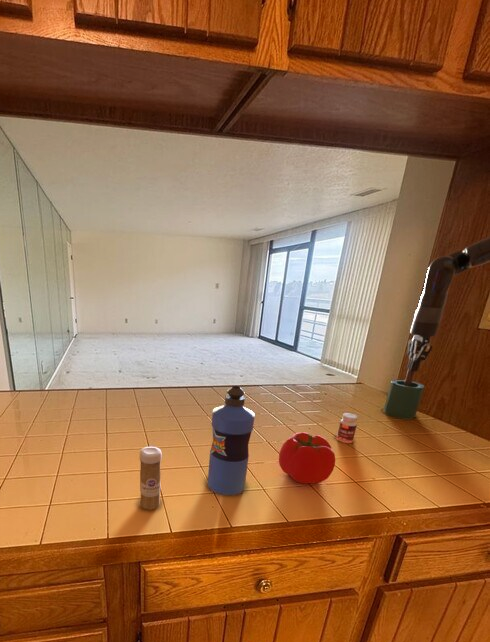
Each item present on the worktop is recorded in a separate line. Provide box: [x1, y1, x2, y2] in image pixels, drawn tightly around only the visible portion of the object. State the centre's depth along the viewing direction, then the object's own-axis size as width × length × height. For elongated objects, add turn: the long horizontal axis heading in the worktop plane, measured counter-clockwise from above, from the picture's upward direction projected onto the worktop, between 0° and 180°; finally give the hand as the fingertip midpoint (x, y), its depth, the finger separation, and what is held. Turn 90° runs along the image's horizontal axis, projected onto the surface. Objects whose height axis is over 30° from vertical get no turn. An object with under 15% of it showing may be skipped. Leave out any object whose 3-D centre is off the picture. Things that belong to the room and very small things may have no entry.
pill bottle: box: [336, 412, 359, 444], centre depth 108 cm, size 5×5×8 cm
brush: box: [404, 356, 416, 387], centre depth 126 cm, size 4×4×18 cm
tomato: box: [278, 431, 336, 485], centre depth 87 cm, size 14×13×10 cm
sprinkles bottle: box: [139, 446, 162, 511], centre depth 74 cm, size 5×5×14 cm
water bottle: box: [207, 385, 256, 496], centre depth 80 cm, size 9×9×25 cm
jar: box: [382, 379, 426, 420], centre depth 129 cm, size 10×10×12 cm
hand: (412, 369), depth 125 cm, fingers closed on brush, 2 cm apart
